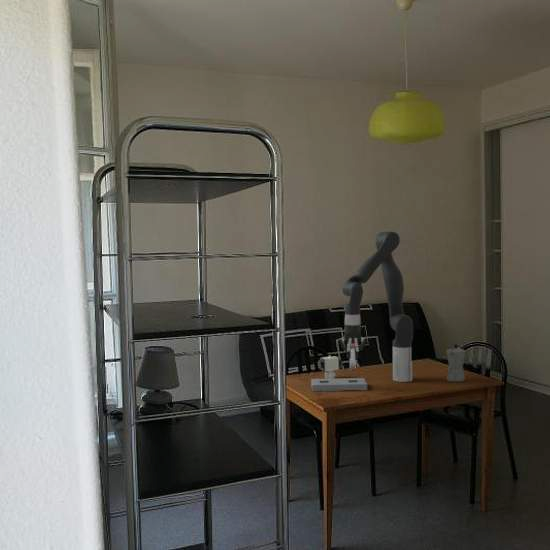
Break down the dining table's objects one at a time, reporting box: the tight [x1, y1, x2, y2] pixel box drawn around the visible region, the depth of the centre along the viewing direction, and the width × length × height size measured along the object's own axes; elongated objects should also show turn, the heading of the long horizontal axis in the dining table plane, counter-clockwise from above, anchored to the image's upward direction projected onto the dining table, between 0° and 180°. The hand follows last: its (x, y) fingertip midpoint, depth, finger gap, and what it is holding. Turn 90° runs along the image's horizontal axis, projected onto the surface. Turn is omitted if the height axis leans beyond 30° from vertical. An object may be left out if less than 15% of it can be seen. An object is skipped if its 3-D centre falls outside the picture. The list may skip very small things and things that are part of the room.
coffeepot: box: [446, 344, 466, 382], centre depth 312 cm, size 15×9×18 cm, turn 147°
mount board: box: [310, 377, 368, 392], centre depth 302 cm, size 26×12×3 cm, turn 89°
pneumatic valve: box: [317, 355, 343, 379], centre depth 320 cm, size 6×12×12 cm, turn 108°
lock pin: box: [349, 343, 357, 370], centre depth 301 cm, size 4×4×12 cm
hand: (352, 358), depth 301 cm, fingers closed on lock pin, 3 cm apart
